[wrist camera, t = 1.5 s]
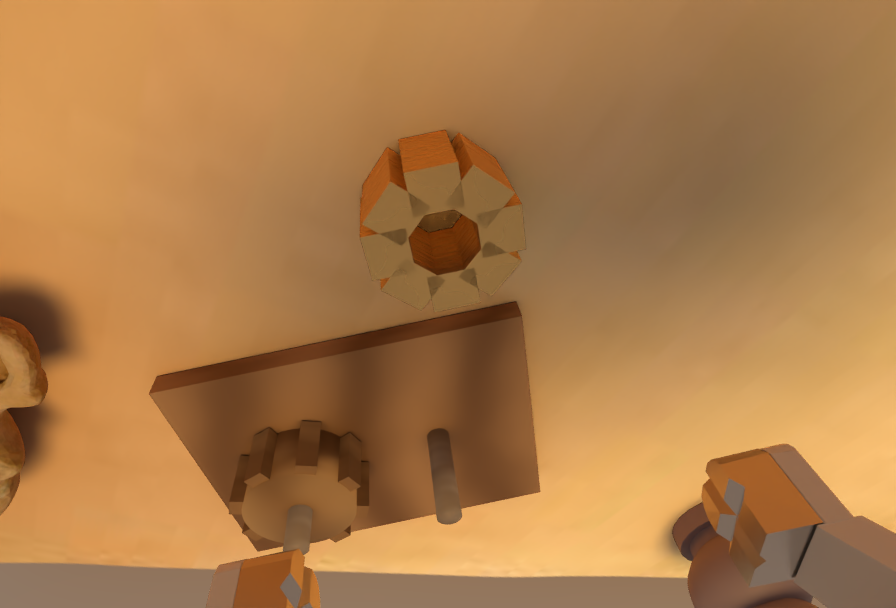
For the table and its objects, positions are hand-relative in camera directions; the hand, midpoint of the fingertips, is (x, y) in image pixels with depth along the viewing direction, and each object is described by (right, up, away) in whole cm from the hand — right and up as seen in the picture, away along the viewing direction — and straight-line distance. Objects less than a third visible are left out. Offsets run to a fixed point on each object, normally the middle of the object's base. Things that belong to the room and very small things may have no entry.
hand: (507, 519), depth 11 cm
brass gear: (-2, +9, +12) cm, 15 cm away
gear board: (-5, -3, +20) cm, 21 cm away
